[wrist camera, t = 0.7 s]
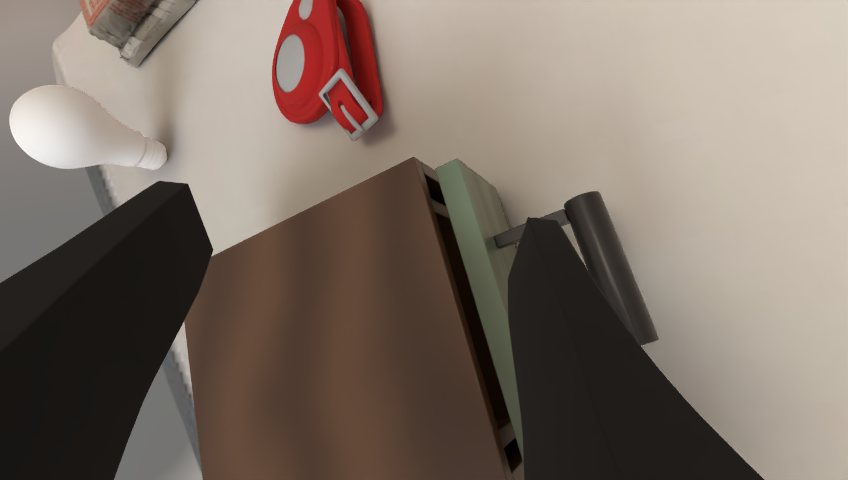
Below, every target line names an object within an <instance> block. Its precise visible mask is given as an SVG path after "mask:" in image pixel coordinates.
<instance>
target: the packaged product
mask: <svg viewBox="0 0 848 480" xmlns="http://www.w3.org/2000/svg"><path fill="white" fill-rule="evenodd" d="M195 1H196V0H79V3H80V6H81V8H82V14H83V17H84V19H85V22H86V25H87V28H88V30H89V33H90V34H91V35H93V36H96V37H97V38H98V39H100V40H105V41H106V42H108V43H109V44H111V45H113V46H114V47H117V48H118V50H119V52H120V55H121V57H120V58H121V59H122V60H123V61H125V62H126V63H127V64H128V65H131V66H133V67H136V68H137V67H138V65H139V64H140V63H141V62H142V60H143V59H144V58H145V57H146V55H147V54H148V53H149V52H150V50H151V49H152V48H153V47H154V46H155V45H156V44H157V42H158V41H159V40H160V39H161V38H162V37H163V36H164V35H165V34H166V32H167V31H168V30H169V29H170V28H171V27H172V26H173V25H174V24H175V23H176V22H177V21H178V20H179V19H180V18H181V17H182V16H183V15H184V14H185V13H186V12H187V11H188V10H189V9H190V8H191V7H192V6H193V4H194V3H195Z"/></svg>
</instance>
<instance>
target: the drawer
mask: <svg viewBox="0 0 848 480" xmlns="http://www.w3.org/2000/svg"><path fill="white" fill-rule="evenodd" d="M435 170H436V174H437V177H438V180H439V184H440V187H441V190H442V194H443V197H444V200H445V204H446V206H445V205H443V204H441V203H439V202H437V201H435V200H433V199H431V200H432V203H433V207H434V210H435V214H436V217H437V220H438V224H439V227H440V231H441V234H442V238H443V241H444V244H445V248H446V251H447V255H448V258H449V262H450V265H451V268H452V272H453V275H454V279H455V282H456V286H457V289H458V293H459V296H460V299H461V303H462V306H463V310H464V313H465V317H466V320H467V323H468V327H469V330H470V334H471V337H472V341H473V344H474V347H475V351H476V354H477V358H478V361H479V365H480V368H481V371H482V375H483V378H484V382H485V385H486V389H487V392H488V396H489V399H490V402H491V406H492V409H493V413H494V416H495V420H496V423H497V426H498V430H499V433H500V437H501V440H502V444H503V447H504V448H505V447H506V446H507V445H508V444H509V443H510V442H511V441H512V440H513V439H514V438H515V437H516V440H517V444H518V447H519V450H520V454H521V457H522V460H523V464H524V458H523V434H522V424H521V413H520V406H519V399H518V391H517V384H516V376H515V369H514V362H513V354H512V346H511V339H510V331H509V323H508V276H509V273H510V270H511V267H512V264H513V261H514V258H515V255H516V252H517V250H516V247H515V243H518V242H520V240H521V237H522V234H523V231H524V228H525V225H526V224H523V225H521V226H518V227H515V228H513V229H510V230H509V227H508V224H507V221H506V218H505V215H504V212H503V209H502V206H501V203H500V200H499V197H498V194H497V191H496V188H495V187H493V186H492V185H491V184H490V183H488V182H487V181H486V180H484V179H483V178H482V177H481V176H479V175H478V174H477V173H476V172H474V171H473V170H472V169H470V168H469V167H468V166H467V165H465V164H464V163H463V162H462V161H460V160H459V159H455V160H453V161H451V162H448V163H446V164H444V165H442V166H440V167H438V168H436V169H435ZM564 208H565V210H564V209H562V210H560V211H557V212H554V213H552V214H549V215H547V216H544V217H541V218H539V219H550V220H557V221H558V223H559V224H560V226H564V225H567V224H569V223H570V224H571V227H572V229H573V232H574V235H575V237H576V240H577V243H578V245H579V248H580V251H581V253H582V256H583V259H584V261H585V264H586V266H587V269H588V272H589V273H590V275H591V276H592V278H593V279H594V281H595V282H596V284H597V285H598V287H599V288H600V290H601V291H602V293H603V294H604V296H605V297H606V299H607V300H608V302H609V303H610V305H611V306H612V308H613V309H614V311H615V312H616V313H617V315H618V316H619V318H620V319H621V320H622V322H623V323H624V325H625V326H626V327H627V329H628V330H629V331H630V333H631V334H632V335H633V337H634V338H635V339H636V341H637V342H638V343H639V344H640V346H641V345H644V344H648V343H651V342H654V341H657V340H658V339H659V337H658V335H657V332H656V330H655V327H654V325H653V322H652V320H651V318H650V315H649V313H648V310H647V308H646V305H645V303H644V300H643V298H642V295H641V293H640V290H639V288H638V285H637V283H636V281H635V278H634V276H633V273H632V271H631V268H630V266H629V263H628V261H627V258H626V256H625V253H624V251H623V248H622V246H621V244H620V241H619V239H618V236H617V234H616V231H615V229H614V226H613V224H612V221H611V219H610V216H609V214H608V211H607V209H606V207H605V204H604V202H603V199H602V197H601V194H600V193H599V192H598V191H593V192H587V193H584V194H581V195H578V196H576V197H574V198H572V199H570V200H568V201H567V202H566V203H565V204H564Z"/></svg>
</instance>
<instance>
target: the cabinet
mask: <svg viewBox="0 0 848 480" xmlns="http://www.w3.org/2000/svg"><path fill="white" fill-rule="evenodd" d="M431 199H433V200H435V201H437V202H439V203H441V204H443V205H445V206H446V204H445V200H444V197H443V194H442V190H441V187H440V184H439V180H438V177H437V174H436V171H435V170H433V169H432V168H430V167H429V166H427V165H426V164H424V163H422V162H420V161H419V160H418V159H416V158H415V157H412V158H410V159H408V160H406V161H404V162H402V163H400V164H398V165H396V166H394V167H392V168H390V169H388V170H386V171H384V172H382V173H380V174H378V175H376V176H374V177H372V178H370V179H368V180H366V181H364V182H362V183H360V184H358V185H356V186H354V187H352V188H350V189H347V190H345V191H343V192H341V193H339V194H337V195H335V196H333V197H331V198H329V199H327V200H325V201H323V202H321V203H319V204H317V205H315V206H313V207H311V208H309V209H307V210H305V211H303V212H301V213H299V214H297V215H295V216H293V217H291V218H289V219H287V220H285V221H283V222H281V223H279V224H277V225H274V226H272V227H270V228H268V229H266V230H264V231H262V232H260V233H258V234H256V235H254V236H252V237H250V238H248V239H246V240H244V241H242V242H240V243H238V244H236V245H234V246H232V247H230V248H228V249H226V250H224V251H222V252H220V253H218V254H216V255H214V256H212V257H211V258H210V261H209V264H208V267H207V271H206V273H205V276H204V279H203V282H202V284H201V287H200V290H199V292H198V294H197V296H196V298H195V300H194V302H193V304H192V306H191V308H190V310H189V312H188V314H187V316H186V318H185V320H184V322H185V330H186V339H187V348H188V356H189V365H190V373H191V382H192V390H193V399H194V408H195V416H196V425H197V433H198V442H199V450H200V459H201V467H202V476H203V480H524V464H523V460H522V457H521V454H520V450H519V447H518V444H517V440H516V437H515V438H514V439H513V440H512V441H511V442H510V443H509V444H508V445H507V446H506V447H505V448H504V447H503V444H502V440H501V437H500V433H499V430H498V426H497V423H496V420H495V416H494V413H493V409H492V406H491V402H490V399H489V396H488V392H487V389H486V385H485V382H484V378H483V375H482V371H481V368H480V365H479V361H478V358H477V354H476V351H475V347H474V344H473V341H472V337H471V334H470V330H469V327H468V323H467V320H466V317H465V313H464V310H463V306H462V303H461V299H460V296H459V293H458V289H457V286H456V282H455V279H454V275H453V272H452V268H451V265H450V262H449V258H448V255H447V251H446V248H445V244H444V241H443V238H442V234H441V231H440V227H439V224H438V220H437V217H436V214H435V210H434V207H433V203H432V200H431Z"/></svg>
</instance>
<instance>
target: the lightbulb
mask: <svg viewBox="0 0 848 480" xmlns="http://www.w3.org/2000/svg"><path fill="white" fill-rule="evenodd" d="M9 121H10V128H11V132H12V135H13V137H14V139H15V141H16V142H17V144H18V145H19V146H20V147H21V148H22V150H23V151H25V152H26V153H27V154H28V155H29V156H31V157H32V158H34V159H35V160H37V161H39V162H41V163H43V164H46V165H48V166H52V167H57V168H63V169H74V168H82V167H89V166H93V165H98V164H116V165H123V166H128V167H132V166H137V167H142V168H146V169H152V170H156V169H158V168H160V167H161V166H162V165H163V164H164V163H165V162H166V161H167V154H166V148H165V147H164V145H163V144H162V143H159V142H157V141H155V140H152V139H150V138H147V137H144V136H143V135H142V134H141V133H140V132H138V131H136V130H134V129H131V128H129V127H127V126H125V125H124V124H122V123H121V122H119V121H118V120H117V119H115V118H114V117H113V116H112V115H111V114H110V113H109V112H108V111H107V110H106V109H105V108H104V107H103V106H102V105H101V104H100V103H99V102H98V101H96V100H95V99H94V98H93V97H91V96H90V95H88V94H86V93H85V92H83V91H81V90H78V89H75V88H73V87H68V86H61V85H46V86H41V87H37V88H34V89H31V90H29V91H28V92H26V93H24V94H23V95H22V96H21V97H20V98H19V99H18V100H17V101H16V102H15V103H14V105H13V107H12V109H11V112H10V119H9Z"/></svg>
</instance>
